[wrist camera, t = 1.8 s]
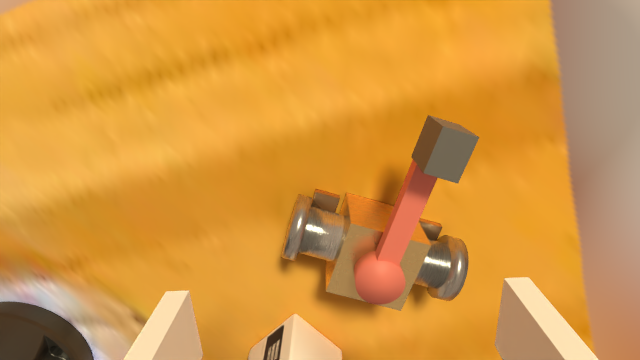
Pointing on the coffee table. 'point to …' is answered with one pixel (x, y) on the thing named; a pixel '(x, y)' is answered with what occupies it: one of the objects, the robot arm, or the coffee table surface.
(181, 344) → the robot arm
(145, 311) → the coffee table surface
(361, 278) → the lever
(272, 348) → the container
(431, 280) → the valve pipe
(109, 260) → the coffee table surface
